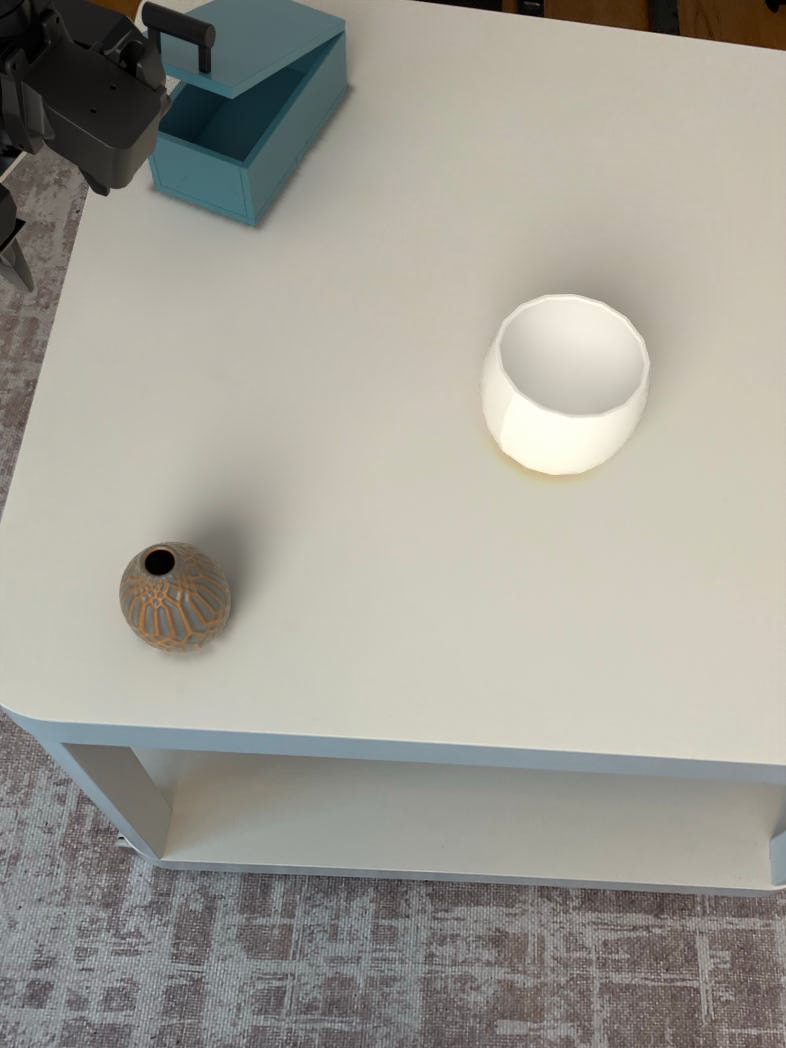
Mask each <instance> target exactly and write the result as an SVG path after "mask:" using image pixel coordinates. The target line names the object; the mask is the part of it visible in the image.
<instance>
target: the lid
mask: <svg viewBox="0 0 786 1048" xmlns="http://www.w3.org/2000/svg"><path fill="white" fill-rule="evenodd" d="M140 18H141V22H142V25H143V26H144V27H146V28H147V29H146V30H144V31H141V33H142V34H143V36H145V37H146V38H147V39H149V40H150V41H152V42H153V43H155V44H156V46H157V49H158V52H159V55H160V58H161V62H162V65H163V68H164V71H165V74H166V76H168V77H170V78H174V79H176V80H179V81H180V80H181V81H184V82H187V83H190V84H192V85H195V86H198V87H200V88H203V89H206V90H209V91H211V92H214V93H217V94H220V95H222V96H225V97H228V98H231V99H233V98H235V97H236V96H238V95H239V94H241V93H243V92H244V91H246V90H248V89H249V88H251V87H253V86H254V85H256V84H257V83H259V82H261V81H262V80H264V79H266V78H267V77H269V76H270V75H272V74H274V73H275V72H277V71H279V70H280V69H282V68H283V67H285V66H287V65H288V64H290V63H292V62H293V61H295V60H296V59H298V58H300V57H301V56H303V55H305V54H306V53H308V52H310V51H311V50H313V49H314V48H316V47H318V46H319V45H321V44H323V43H324V42H326V41H327V40H329V39H331V38H332V37H334V36H336V35H337V34H339V33H340V32H342V31H344V30H345V31H346V24H347V20H346V19H344V18H342V17H339V16H336V15H334V14H330V13H327V12H325V11H322V10H320V9H317V8H314V7H311V6H308V5H306V4H302V3H300V2H297V1H295V0H211V1H209V2H206V3H204V4H202V5H200V6H198V7H196V8H193V9H190V10H188V11H187V12H184V13H183V12H180V11H178V10H174V9H172V8H170V7H167V6H163V5H161V4H158V3H155V2H153V1H150V0H147V1H145V2H144V3H143V5H142V7H141V15H140Z"/></svg>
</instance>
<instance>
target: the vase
mask: <svg viewBox="0 0 786 1048" xmlns="http://www.w3.org/2000/svg"><path fill="white" fill-rule="evenodd" d="M118 597H119V598H118V599H119V606H120V610H121V613H122V616H123V617H124V620H125V622H126V624H127V625H128V627H129V628H130V629H131V630H132V632H133V633H134V634H135V635H136V636H137V637H138V638H139V639H140V640H141V641H142V642H144V643H145V644H147V645H149V646H150V647H153V648H154V649H156V650H160V651H162V652H167V653H173V654H183V653H191V652H194V651H198V650H199V649H202V648H205V647H206V646H207V645H209V644H210V643H212V642H213V641H214V640H215V639H216V638H217V637H219V635H220V634H221V633H222V631H223V630H224V628H225V626H226V624H227V622H228V621H229V617H230V613H231V606H232V596H231V590H230V586H229V582H228V579H227V576H226V575H225V572H224V570H223V569H222V568H221V566H220V565H219V564H218V563H217V561H216V560H214V559H213V557H211V556H210V555H209V554H208V553H207V552H205V551H204V550H202V549H201V548H198V547H197V546H194V545H191V544H188V543H184V542H181V541H180V542H179V541H163V542H160V543H155V544H152V545H150V546H148V547H146V548H144V549H142V550H141V551H139V552H138V553H137V554H136V555H135V556H134V557H132V559H130V561H129V562H128V564H127V566H126V567H125V568H124V571H123V573H122V575H121V578H120V583H119V591H118Z"/></svg>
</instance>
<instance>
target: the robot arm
mask: <svg viewBox="0 0 786 1048" xmlns="http://www.w3.org/2000/svg"><path fill="white" fill-rule="evenodd" d="M166 84H167V75H166V74H165V71H164V68H163V65H162V62H161V58H160V55H159V52H158V49H157V46H156V44H155V43H153V42H152V41H150V40H149V39H147V38H146V37H145V36H143V34H142V31H141V30H140V29H139V27H138V26H137V25H136V24H135V23H134V22H133V20H132V19H131V18H130V17H129V16H128V15H127V14H125V13H123V12H119V11H117V10H114V9H111V8H108V7H106V6H103V5H100V4H97V3H95V2H92V1H90V0H0V276H2V277H3V278H4V279H5V280H6V281H8V282H9V283H10V284H12V285H13V286H14V287H15V288H17V289H19V290H22V291H24V292H27V293H33V292H34V291H35V289H36V287H35V283H34V279H33V275H32V272H31V270H30V267H29V265H28V263H27V260H26V257H25V255H24V253H23V250H22V248H21V246H20V243H19V240H18V238H17V236H18V235H19V234H20V233H21V232H22V230H23V229H24V228H25V227H26V225H27V221H26V220H23V219H22V218H19V217H17V213H18V206H17V204H16V202H15V200H14V197H13V195H12V192H11V191H10V190H9V189H8V188H7V187H6V186H5V185H3V184H2V183H3V182H4V181H5V180H6V178H7V177H8V176H9V175H10V174H11V173H12V172H13V170H14V169H15V168H16V167H17V165H18V164H19V163H20V162H21V161H22V160H23V159H24V157H26V155H28V154H29V155H32V156H36V155H38V154H39V152H40V151H41V150H42V148H43V147H44V146H45V145H46V146H47V147H48V148H49V149H50V150H51V151H53V152H54V153H56V154H57V155H59V156H60V157H62V158H64V159H65V160H67V161H68V162H70V163H71V164H73V165H75V166H76V167H77V168H78V170H79V172H80V173H81V175H82V177H83V178H84V180H85V181H86V183H87V184H88V186H89V187H90V190H91V191H92V192H93V193H94V194H97V195H99V196H101V197H108V196H109V195H110V194H111V189H112V190H121V189H125V188H126V187H127V186H128V185H129V184H130V183H131V182H132V181H133V179H134V176H135V175H136V173H137V172H138V171H139V170H140V168H141V167H142V166H143V164H144V163H145V162H146V161H147V160H148V157H149V156H151V155H152V153H153V152H154V150H155V147H156V140H157V134H158V127H159V121H160V120H161V119H162V118H163V116H164V115H165V114H166V113H167V111H168V110H169V109H170V107H171V106H172V100H171V98H170V97H169V94H168V88H167V87H166Z"/></svg>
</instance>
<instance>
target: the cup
mask: <svg viewBox="0 0 786 1048" xmlns="http://www.w3.org/2000/svg"><path fill="white" fill-rule="evenodd" d="M480 373H481V374H480V379H479V385H478V386H479V387H478V388H479V393H480V399H481V407H482V413H483V416H484V420H485V423H486V426H487V429H488V432H489V433H490V434H491V436H492V437H493V439H494V440H495V442H496V444H497V445H498V447H499V448H500V449H501V451H502V452H503V453H505V454H506V456H509V457H510V458H512V459H513V460H515V461H516V462H518V463H519V464H520V465H522V466H523V467H524V468H526V469H529V470H533V471H537V472H540V473H544V474H547V475H551V476H557V475H558V476H559V475H575V474H583V473H584V472H587V471H589V470H591V469H594V468H596V467H598V466H600V465H603V464H604V463H606V462H607V461H608V460H609V459H610V458H612V457H613V456H614V455H615V454H616V453H617V452H618V451H619V450H620V449H621V448H622V447H623V445H624V444H625V443H626V442H627V441H628V440H629V439H630V437H632V435H633V434H634V433H635V432H636V430H637V427H638V426H639V423H640V422H641V418H642V416H643V414H644V412H645V409H646V404H647V400H648V396H649V391H650V387H651V381H652V380H651V378H652V376H651V375H652V363H651V359H650V356H649V352H648V349H647V345H646V340H645V339H644V338H643V336H642V335H641V334H640V333H639V331H638V330H637V328H636V327H635V325H633V323H632V322H631V321H630V320H629V318H628V317H627V316H626V315H624V314H623V313H621V312H619V311H618V310H616V309H615V308H613V307H612V306H611V305H608V303H605V302H604V301H602V300H601V301H600V300H597V299H594V298H591V297H587V296H583V295H580V294H575V293H563V294H562V293H561V294H559V293H558V294H555V293H554V294H543V295H541V296H539V297H536V298H534V299H530V300H528V301H526V302H523V303H520V304H518V306H516V307H515V308H514V309H513V310H512V311H511V312H510V313H509V314H508V315H507V316H506V317H505V318H504V319H503V320H502V321H501V322H500V323H499V325H498V327H497V328H496V330H495V332H494V333H493V335H492V336H491V339H490V341H489V344H488V347H487V351H486V353H485V357H484V360H483V363H482V367H481V372H480Z"/></svg>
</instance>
